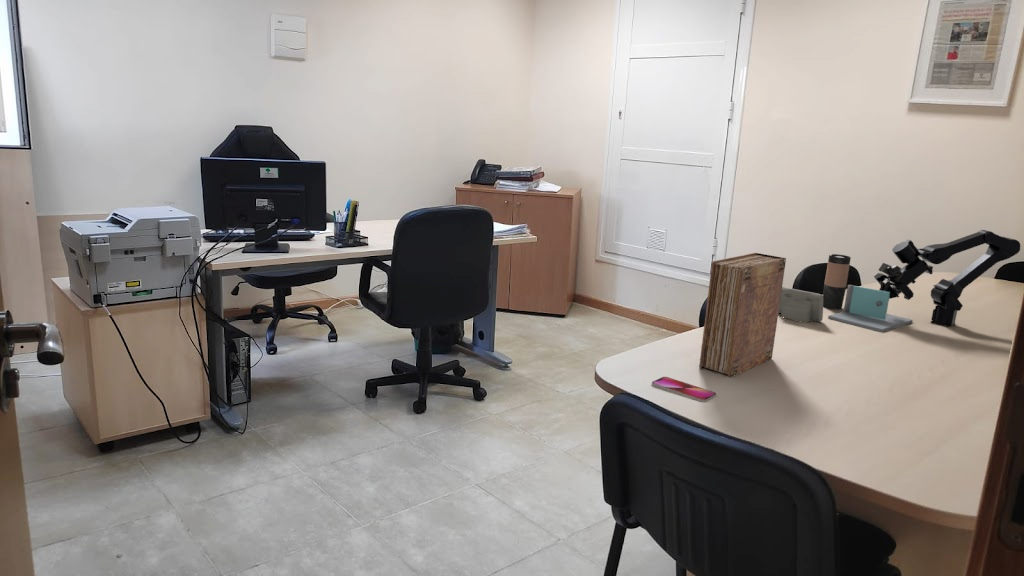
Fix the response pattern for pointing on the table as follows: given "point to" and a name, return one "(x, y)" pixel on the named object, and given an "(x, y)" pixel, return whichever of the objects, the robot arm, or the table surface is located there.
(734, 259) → the book
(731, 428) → the table surface
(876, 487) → the table surface
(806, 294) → the digital clock
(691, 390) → the smartphone
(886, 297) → the door
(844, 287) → the travel mug
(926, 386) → the table surface
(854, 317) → the base board
